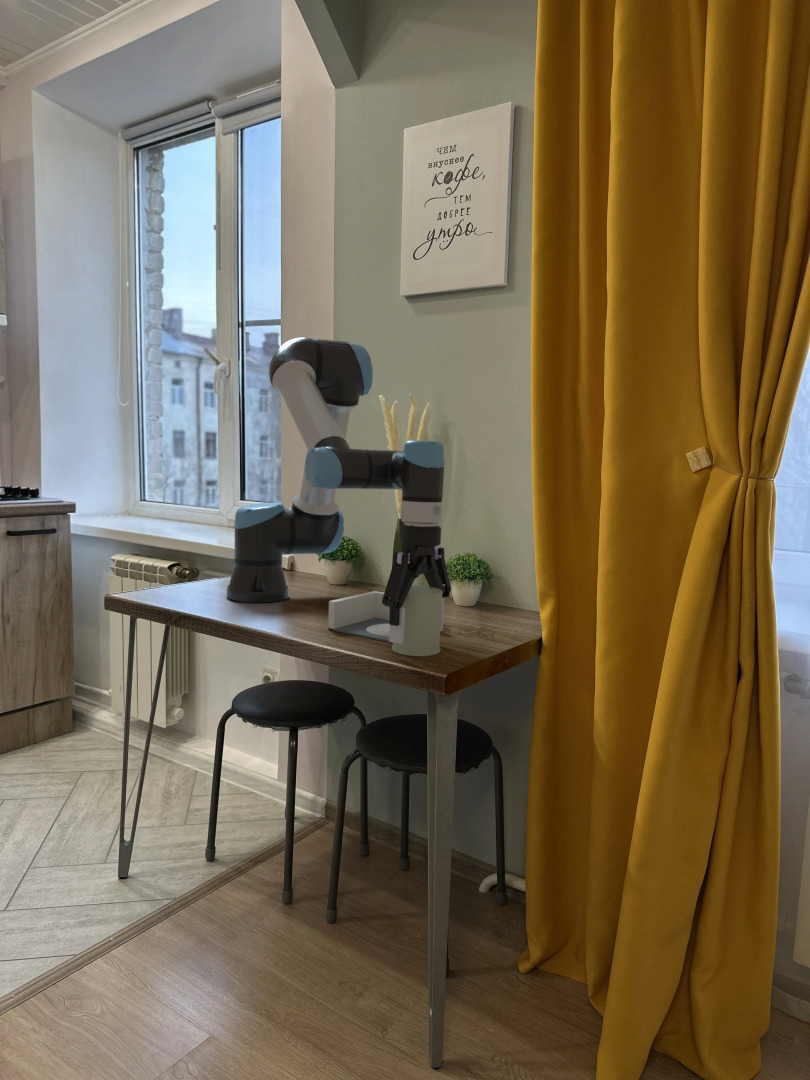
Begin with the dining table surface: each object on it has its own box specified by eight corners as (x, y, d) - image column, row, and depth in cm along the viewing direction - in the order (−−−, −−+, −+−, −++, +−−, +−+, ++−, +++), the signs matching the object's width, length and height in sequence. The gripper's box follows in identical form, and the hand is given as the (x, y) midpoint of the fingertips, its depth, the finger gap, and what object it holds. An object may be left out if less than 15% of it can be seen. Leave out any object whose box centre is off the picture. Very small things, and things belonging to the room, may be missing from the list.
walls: (328, 629, 154) (328, 601, 153) (373, 617, 167) (374, 591, 166) (395, 643, 144) (396, 613, 144) (438, 629, 158) (439, 601, 157)
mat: (328, 629, 154) (328, 626, 154) (373, 617, 167) (374, 614, 167) (395, 643, 144) (395, 640, 144) (438, 629, 158) (438, 626, 157)
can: (399, 641, 146) (402, 581, 145) (445, 646, 144) (448, 585, 142) (385, 653, 137) (387, 589, 136) (433, 658, 135) (436, 594, 133)
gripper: (399, 529, 125) (395, 652, 128) (471, 522, 146) (466, 627, 148) (364, 526, 129) (361, 644, 132) (439, 519, 150) (434, 622, 152)
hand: (416, 636), depth 140 cm, fingers open, 13 cm apart
